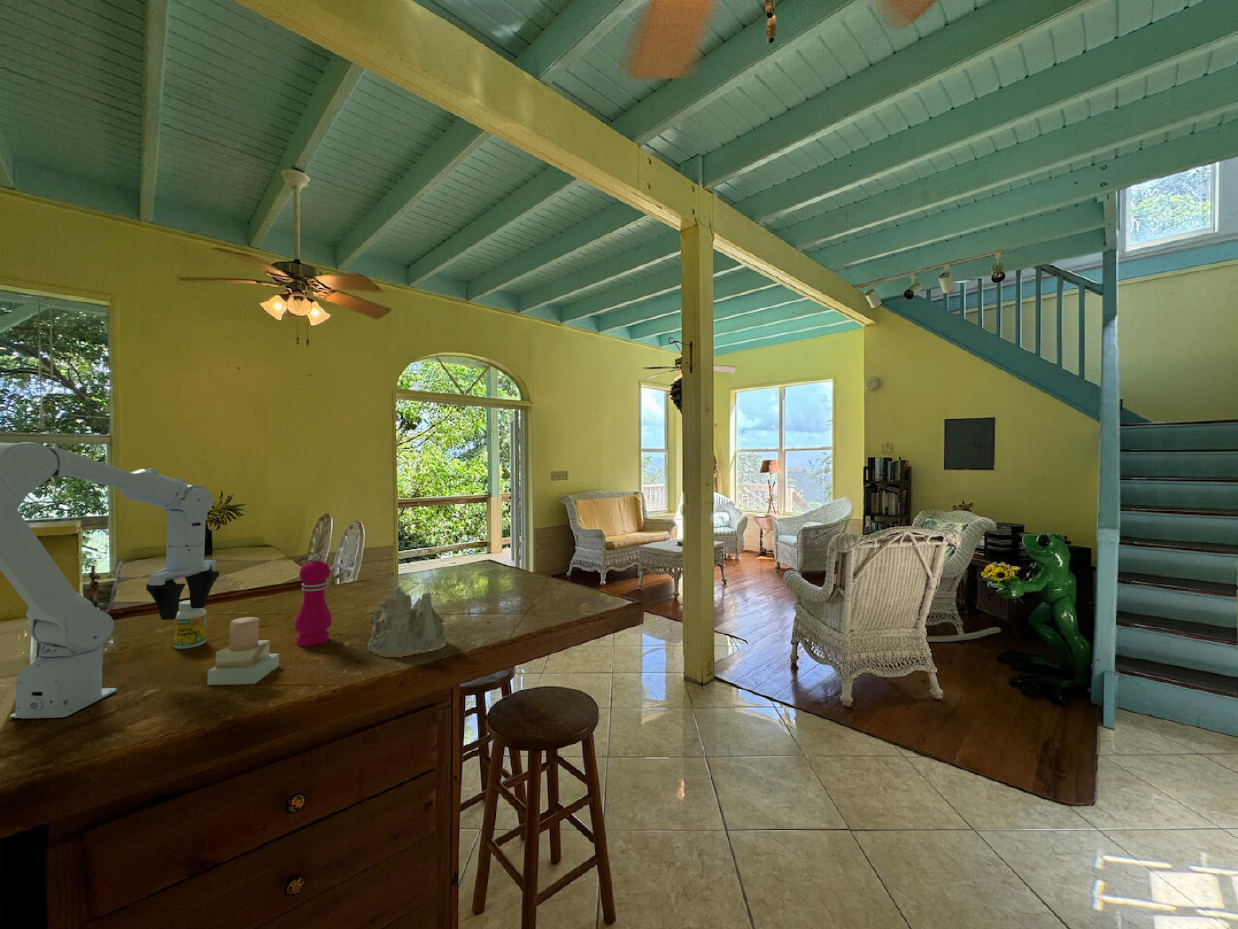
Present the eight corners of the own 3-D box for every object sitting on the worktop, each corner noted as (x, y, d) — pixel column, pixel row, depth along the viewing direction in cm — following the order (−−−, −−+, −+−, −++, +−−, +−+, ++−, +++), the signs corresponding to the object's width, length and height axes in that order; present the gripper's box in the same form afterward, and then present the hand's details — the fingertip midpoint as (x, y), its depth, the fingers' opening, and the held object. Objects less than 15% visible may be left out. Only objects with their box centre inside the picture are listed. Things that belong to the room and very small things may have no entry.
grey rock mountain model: (451, 649, 111) (449, 581, 112) (368, 665, 103) (367, 592, 104) (438, 633, 125) (437, 572, 126) (365, 645, 117) (364, 580, 118)
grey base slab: (254, 686, 92) (254, 669, 92) (207, 687, 91) (207, 670, 91) (278, 668, 100) (279, 653, 100) (235, 669, 99) (235, 654, 99)
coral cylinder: (249, 651, 93) (250, 624, 93) (223, 651, 93) (225, 624, 93) (262, 642, 98) (264, 617, 98) (238, 642, 97) (239, 616, 97)
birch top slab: (250, 667, 93) (250, 651, 93) (215, 668, 92) (216, 652, 92) (269, 655, 99) (269, 640, 99) (236, 656, 98) (237, 640, 98)
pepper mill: (288, 648, 110) (291, 557, 110) (300, 637, 117) (303, 551, 117) (325, 646, 111) (328, 556, 112) (334, 635, 118) (337, 551, 119)
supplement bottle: (207, 639, 114) (208, 597, 114) (204, 646, 109) (205, 602, 109) (176, 643, 111) (177, 600, 111) (171, 651, 106) (172, 606, 106)
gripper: (179, 551, 92) (177, 625, 92) (232, 539, 107) (230, 603, 107) (137, 551, 92) (135, 625, 92) (196, 539, 106) (194, 603, 106)
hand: (183, 613), depth 99 cm, fingers open, 7 cm apart
